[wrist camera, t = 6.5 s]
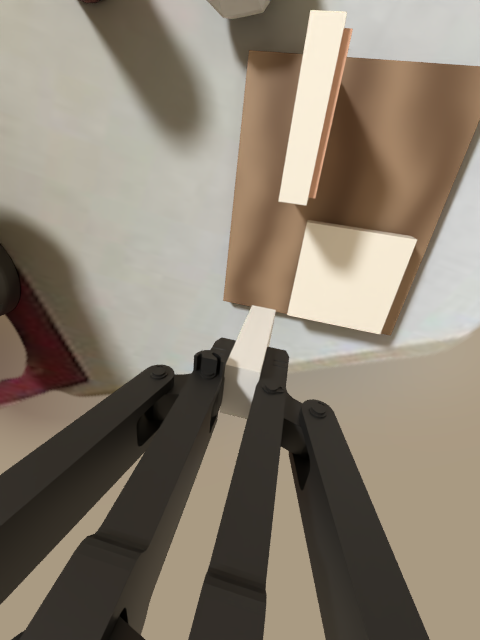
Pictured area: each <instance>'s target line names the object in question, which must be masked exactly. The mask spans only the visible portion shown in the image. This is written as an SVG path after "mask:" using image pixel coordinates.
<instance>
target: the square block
mask: <svg viewBox="0 0 480 640" xmlns="http://www.w3.org/2000/svg"><path fill="white" fill-rule="evenodd" d="M416 242H417V239H415V238H414V237H412V236H408V235H401V234H395V233H389V232H382V231H376V230H370V229H363V228H357V227H350V226H344V225H338V224H331V223H325V222H318V221H312V220H307V225H306V230H305V234H304V239H303V243H302V248H301V253H300V257H299V262H298V267H297V271H296V276H295V280H294V285H293V290H292V294H291V299H290V303H289V308H288V313H287V315H289V316H294V317H299V318H304V319H308V320H313V321H318V322H323V323H328V324H332V325H337V326H342V327H347V328H352V329H356V330H361V331H366V332H371V333H376V334H380V333H381V331H382V328H383V326H384V323H385V321H386V318H387V316H388V313H389V311H390V308H391V305H392V303H393V300H394V298H395V295H396V293H397V290H398V288H399V285H400V283H401V280H402V277H403V275H404V272H405V270H406V267H407V265H408V262H409V260H410V257H411V255H412V252H413V249H414V247H415V244H416Z"/></svg>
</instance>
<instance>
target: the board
mask: <svg viewBox="0 0 480 640" xmlns="http://www.w3.org/2000/svg"><path fill="white" fill-rule="evenodd" d="M302 58H303V54H295V53H281V52H267V51H253V50H249V55H248V65H247V75H246V85H245V94H244V104H243V114H242V124H241V133H240V143H239V153H238V163H237V172H236V182H235V192H234V202H233V211H232V221H231V231H230V241H229V250H228V260H227V270H226V280H225V289H224V299H223V301H227V302H232V303H237V304H241V305H246V306H251V307H252V305H254V306H259V307H264V308H269V309H274V310H276V312H280V313H285V314H287V313H288V308H289V303H290V299H291V294H292V290H293V285H294V280H295V276H296V271H297V267H298V262H299V257H300V253H301V248H302V243H303V239H304V234H305V230H306V225H307V220H312V221H318V222H325V223H331V224H338V225H344V226H350V227H357V228H363V229H370V230H376V231H382V232H389V233H395V234H401V235H408V236H412V237H414V238H415V239H417V242H416V244H415V247H414V249H413V252H412V255H411V257H410V260H409V262H408V265H407V267H406V270H405V272H404V275H403V277H402V280H401V283H400V285H399V288H398V290H397V293H396V295H395V298H394V300H393V303H392V305H391V308H390V311H389V313H388V316H387V318H386V321H385V323H384V326H383V328H382V331H381V334H386V335H391V333H392V331H393V328H394V326H395V324H396V321H397V319H398V316H399V314H400V311H401V309H402V307H403V304H404V302H405V299H406V297H407V294H408V292H409V290H410V287H411V285H412V282H413V280H414V278H415V275H416V273H417V270H418V268H419V265H420V263H421V261H422V258H423V256H424V253H425V251H426V248H427V246H428V244H429V241H430V239H431V236H432V234H433V232H434V229H435V227H436V224H437V222H438V219H439V217H440V215H441V212H442V210H443V207H444V205H445V202H446V200H447V198H448V195H449V193H450V190H451V188H452V186H453V183H454V181H455V178H456V176H457V173H458V171H459V169H460V166H461V164H462V161H463V159H464V156H465V154H466V152H467V149H468V147H469V144H470V142H471V140H472V137H473V135H474V132H475V130H476V127H477V125H478V123H479V120H480V66H466V65H452V64H438V63H423V62H409V61H395V60H381V59H366V58H352V57H346V62H345V66H344V71H343V75H342V80H341V84H340V89H339V93H338V98H337V102H336V107H335V111H334V116H333V120H332V125H331V129H330V134H329V138H328V143H327V148H326V152H325V157H324V161H323V166H322V170H321V175H320V179H319V184H318V188H317V193H316V197H315V198H309V200H308V203H307V205H299V204H293V203H286V202H279V195H280V189H281V183H282V177H283V171H284V165H285V159H286V153H287V147H288V141H289V135H290V129H291V123H292V117H293V111H294V105H295V99H296V93H297V88H298V82H299V76H300V70H301V64H302Z"/></svg>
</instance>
